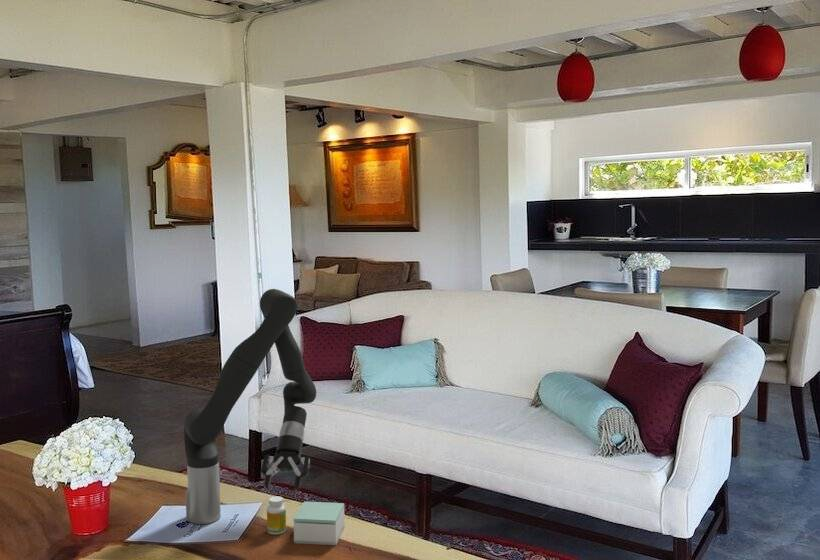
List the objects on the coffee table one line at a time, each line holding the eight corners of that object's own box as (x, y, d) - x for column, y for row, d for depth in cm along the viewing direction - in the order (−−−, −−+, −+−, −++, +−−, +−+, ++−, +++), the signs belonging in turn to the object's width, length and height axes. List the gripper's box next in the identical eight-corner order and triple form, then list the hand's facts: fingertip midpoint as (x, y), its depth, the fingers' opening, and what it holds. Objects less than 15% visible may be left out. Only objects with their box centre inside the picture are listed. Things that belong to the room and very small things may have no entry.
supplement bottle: (282, 535, 216) (281, 503, 215) (264, 534, 217) (263, 501, 216) (288, 527, 221) (288, 495, 220) (271, 526, 223) (270, 494, 221)
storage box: (294, 543, 212) (293, 522, 211) (304, 524, 224) (304, 505, 223) (336, 545, 210) (335, 524, 210) (344, 526, 222) (344, 506, 222)
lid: (293, 521, 211) (293, 518, 211) (304, 504, 223) (304, 501, 223) (335, 523, 210) (335, 520, 210) (344, 505, 221) (344, 503, 221)
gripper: (265, 433, 232) (255, 483, 222) (311, 434, 230) (302, 485, 220) (271, 444, 237) (261, 493, 228) (315, 445, 236) (307, 495, 226)
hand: (281, 489), depth 224 cm, fingers open, 8 cm apart
